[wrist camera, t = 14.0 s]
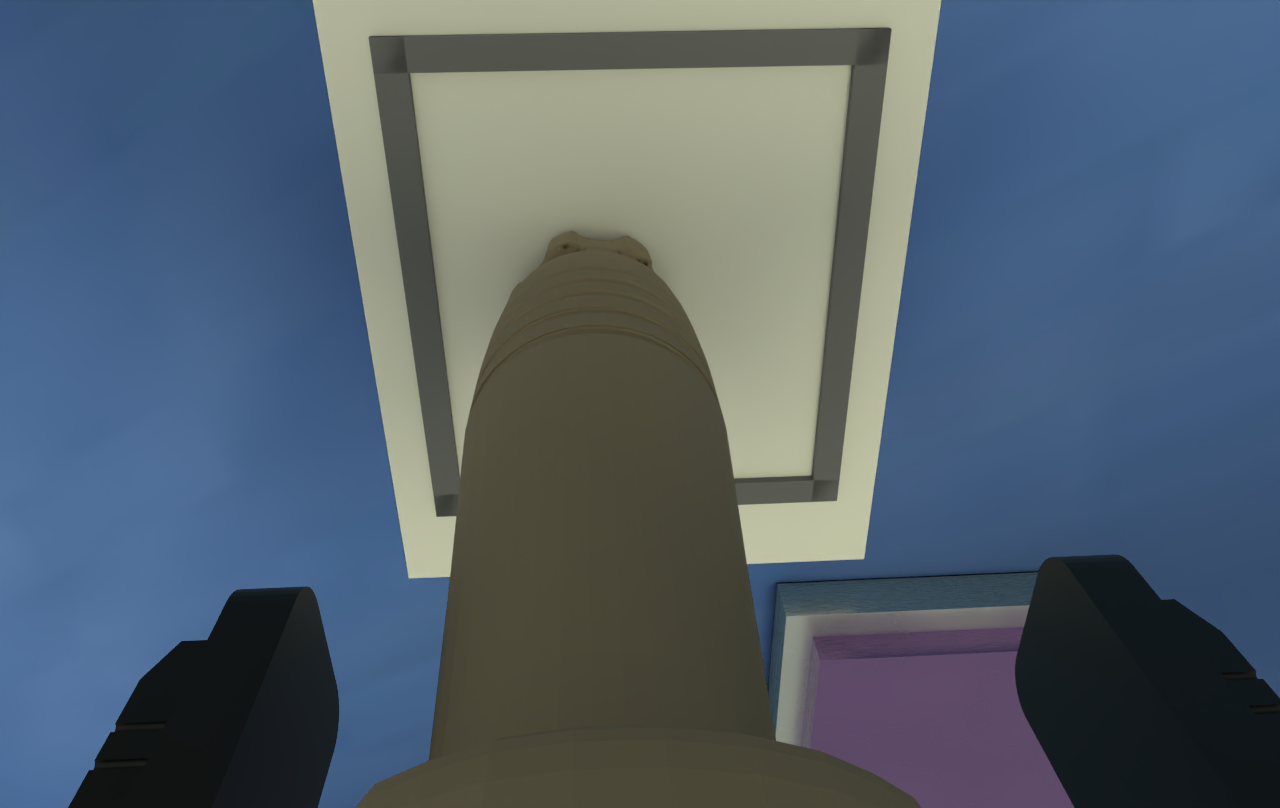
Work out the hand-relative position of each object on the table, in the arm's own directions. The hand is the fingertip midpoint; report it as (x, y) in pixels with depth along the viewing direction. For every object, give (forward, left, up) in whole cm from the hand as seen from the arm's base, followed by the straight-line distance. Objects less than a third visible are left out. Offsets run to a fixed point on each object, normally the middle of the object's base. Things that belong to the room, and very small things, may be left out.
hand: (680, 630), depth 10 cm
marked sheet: (0, 0, -10) cm, 10 cm away
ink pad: (+14, +8, -10) cm, 19 cm away
